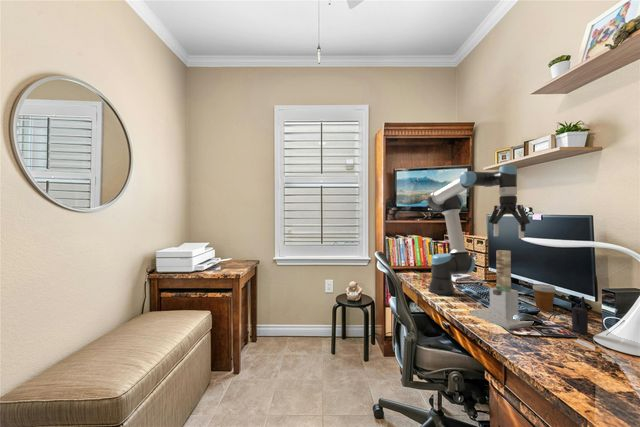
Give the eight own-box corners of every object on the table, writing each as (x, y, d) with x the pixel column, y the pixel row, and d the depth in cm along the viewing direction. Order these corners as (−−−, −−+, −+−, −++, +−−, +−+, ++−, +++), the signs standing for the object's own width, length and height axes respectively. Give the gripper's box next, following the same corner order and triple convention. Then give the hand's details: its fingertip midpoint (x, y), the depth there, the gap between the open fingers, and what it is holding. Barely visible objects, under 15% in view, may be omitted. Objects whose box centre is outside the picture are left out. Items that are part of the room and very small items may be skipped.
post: (495, 301, 136) (495, 250, 136) (502, 300, 137) (502, 250, 137) (504, 304, 132) (504, 251, 132) (511, 303, 133) (511, 251, 133)
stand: (469, 314, 141) (469, 286, 141) (499, 309, 147) (499, 282, 147) (508, 329, 122) (508, 297, 122) (541, 323, 129) (540, 292, 129)
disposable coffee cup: (528, 308, 149) (528, 284, 149) (539, 305, 153) (539, 282, 153) (549, 313, 141) (549, 289, 141) (560, 311, 145) (560, 287, 145)
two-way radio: (590, 334, 116) (590, 297, 116) (580, 335, 116) (580, 297, 116) (576, 329, 122) (576, 293, 122) (567, 329, 121) (567, 294, 121)
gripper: (481, 197, 159) (481, 235, 159) (527, 194, 135) (527, 239, 135) (491, 197, 161) (491, 235, 161) (538, 194, 138) (538, 238, 138)
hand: (508, 237), depth 148 cm, fingers open, 13 cm apart
